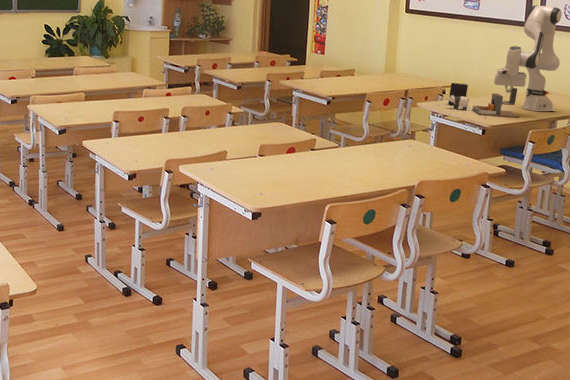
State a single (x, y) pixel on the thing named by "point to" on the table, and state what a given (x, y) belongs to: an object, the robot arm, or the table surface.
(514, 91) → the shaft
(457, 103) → the giant panda
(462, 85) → the calculator
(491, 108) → the collar
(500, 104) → the dark grey stand
